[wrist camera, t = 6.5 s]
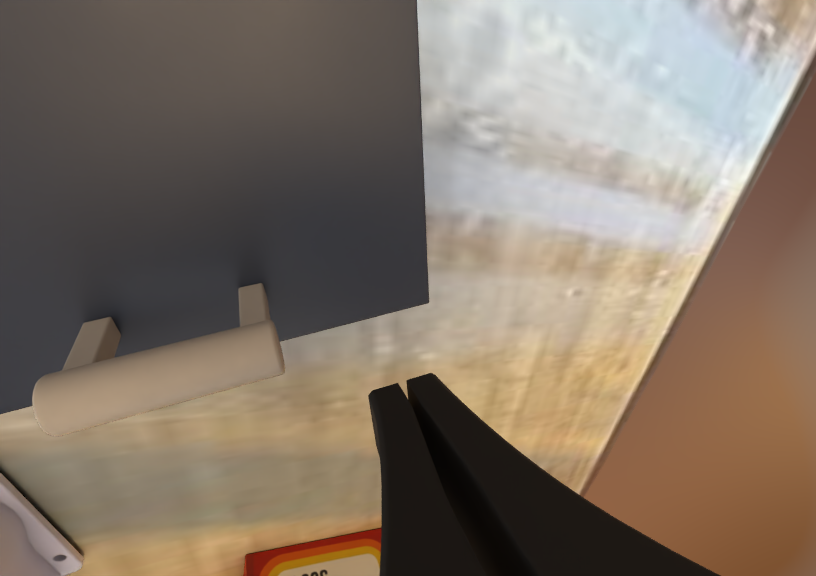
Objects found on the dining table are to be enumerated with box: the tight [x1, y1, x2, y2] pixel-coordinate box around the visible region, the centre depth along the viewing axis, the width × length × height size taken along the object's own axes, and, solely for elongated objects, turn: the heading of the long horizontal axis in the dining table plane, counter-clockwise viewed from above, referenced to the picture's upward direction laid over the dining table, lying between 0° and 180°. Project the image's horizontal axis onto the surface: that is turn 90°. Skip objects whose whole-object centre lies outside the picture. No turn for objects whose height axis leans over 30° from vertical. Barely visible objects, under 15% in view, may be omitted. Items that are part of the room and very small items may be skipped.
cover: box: [0, 0, 429, 436], centre depth 9 cm, size 11×15×4 cm
